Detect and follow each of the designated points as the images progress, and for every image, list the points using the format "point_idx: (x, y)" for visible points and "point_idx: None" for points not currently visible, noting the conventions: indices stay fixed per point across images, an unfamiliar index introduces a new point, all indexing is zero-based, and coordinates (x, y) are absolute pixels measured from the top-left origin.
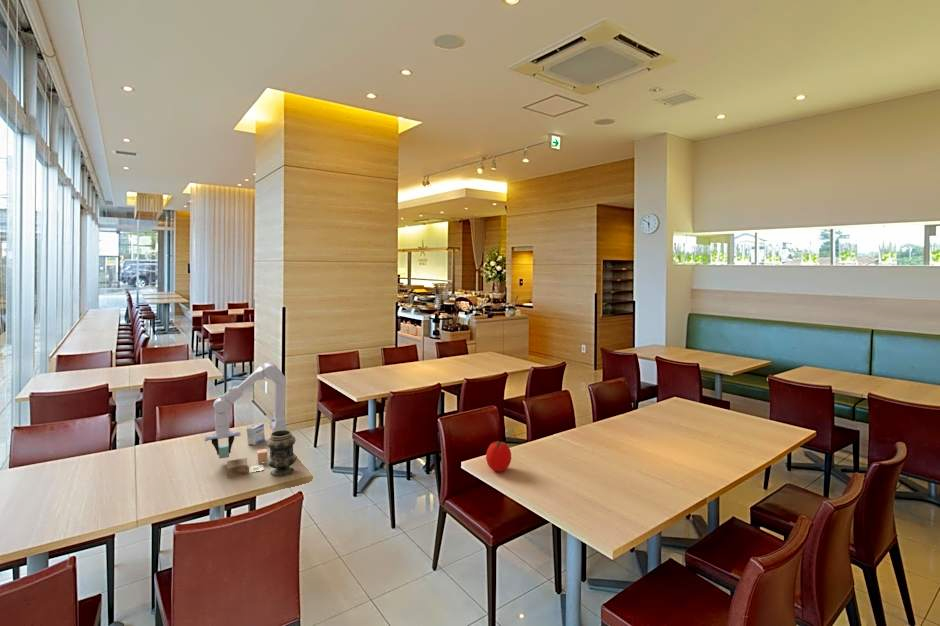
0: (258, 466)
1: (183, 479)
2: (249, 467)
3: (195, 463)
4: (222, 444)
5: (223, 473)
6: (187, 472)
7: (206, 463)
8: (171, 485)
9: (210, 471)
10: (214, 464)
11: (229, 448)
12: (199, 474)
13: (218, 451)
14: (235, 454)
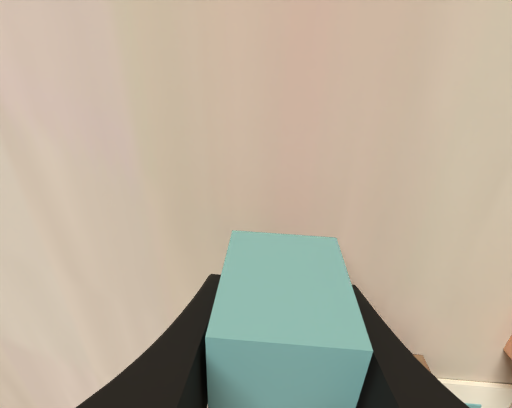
0: (481, 396)
1: (39, 350)
2: None
3: (17, 113)
4: (267, 342)
5: None
6: (23, 270)
7: (124, 164)
8: (2, 384)
9: None
10: (197, 219)
11: None
12: (118, 331)
13: None
14: (411, 45)
